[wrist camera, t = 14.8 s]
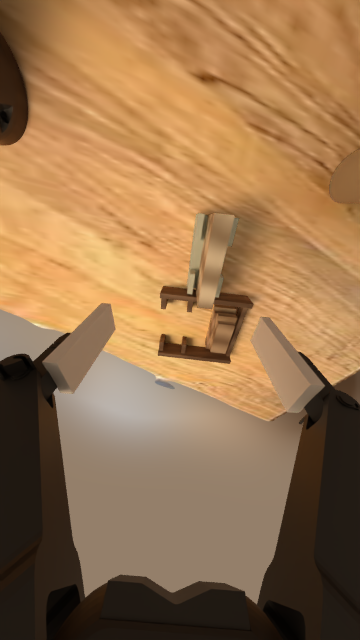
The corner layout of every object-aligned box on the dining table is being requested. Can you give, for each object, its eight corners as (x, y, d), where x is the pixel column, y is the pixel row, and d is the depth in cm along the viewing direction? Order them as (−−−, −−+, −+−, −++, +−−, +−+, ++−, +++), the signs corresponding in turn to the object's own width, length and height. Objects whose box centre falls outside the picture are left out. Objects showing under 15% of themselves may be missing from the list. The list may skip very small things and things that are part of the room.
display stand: (196, 214, 33) (197, 212, 29) (233, 218, 33) (240, 218, 29) (186, 285, 42) (186, 293, 37) (216, 289, 42) (219, 297, 37)
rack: (163, 286, 42) (159, 295, 37) (247, 296, 43) (255, 307, 37) (160, 344, 54) (157, 358, 48) (226, 352, 54) (230, 367, 48)
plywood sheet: (207, 215, 32) (214, 212, 23) (222, 217, 33) (234, 215, 23) (195, 288, 41) (197, 307, 32) (207, 289, 41) (212, 309, 32)
